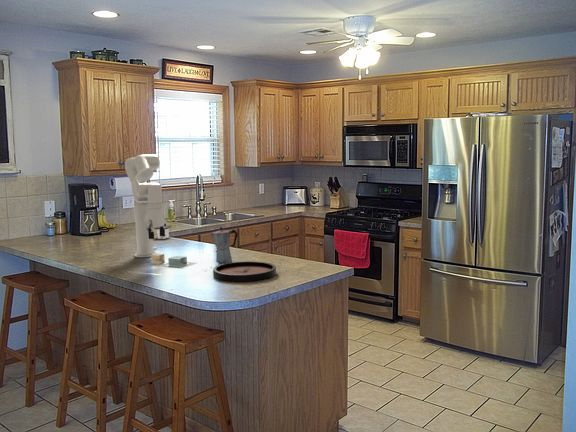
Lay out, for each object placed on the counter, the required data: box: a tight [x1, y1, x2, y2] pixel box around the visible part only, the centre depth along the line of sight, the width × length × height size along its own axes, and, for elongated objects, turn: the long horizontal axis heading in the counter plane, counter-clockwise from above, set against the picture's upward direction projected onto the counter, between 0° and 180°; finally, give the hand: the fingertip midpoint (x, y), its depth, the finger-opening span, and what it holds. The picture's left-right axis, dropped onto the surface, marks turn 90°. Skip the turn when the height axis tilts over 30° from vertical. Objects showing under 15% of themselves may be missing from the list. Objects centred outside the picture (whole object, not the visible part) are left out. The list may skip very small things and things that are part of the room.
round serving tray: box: [212, 260, 277, 284], centre depth 280 cm, size 31×4×31 cm
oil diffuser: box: [154, 225, 172, 240], centre depth 398 cm, size 26×24×17 cm
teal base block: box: [168, 255, 188, 266], centre depth 302 cm, size 7×7×4 cm
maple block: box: [150, 252, 166, 265], centre depth 307 cm, size 5×5×6 cm
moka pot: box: [209, 226, 239, 265], centre depth 309 cm, size 10×15×20 cm, turn 111°
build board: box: [157, 261, 198, 269], centre depth 302 cm, size 15×16×1 cm
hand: (157, 237), depth 306 cm, fingers open, 9 cm apart
